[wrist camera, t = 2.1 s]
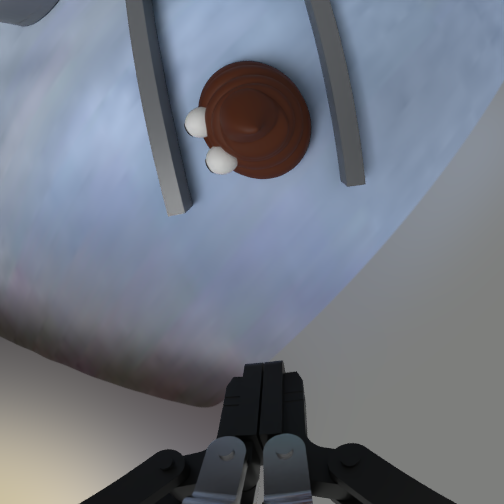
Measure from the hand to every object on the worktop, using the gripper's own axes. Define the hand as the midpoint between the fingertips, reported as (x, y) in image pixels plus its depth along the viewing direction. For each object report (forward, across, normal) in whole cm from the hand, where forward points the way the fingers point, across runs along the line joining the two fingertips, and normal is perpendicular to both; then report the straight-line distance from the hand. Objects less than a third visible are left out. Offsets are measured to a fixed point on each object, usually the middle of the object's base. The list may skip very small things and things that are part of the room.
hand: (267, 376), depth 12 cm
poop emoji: (+17, 0, -10) cm, 20 cm away
